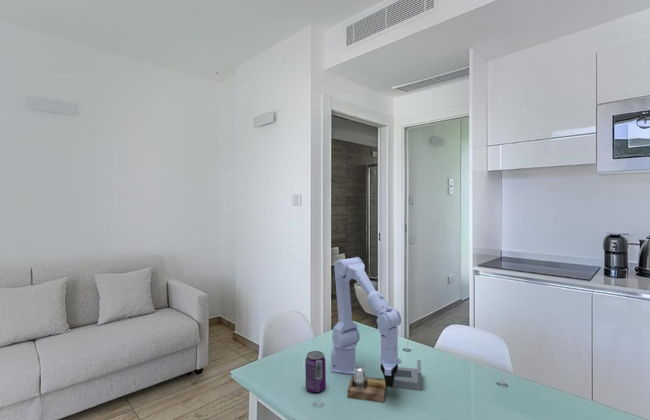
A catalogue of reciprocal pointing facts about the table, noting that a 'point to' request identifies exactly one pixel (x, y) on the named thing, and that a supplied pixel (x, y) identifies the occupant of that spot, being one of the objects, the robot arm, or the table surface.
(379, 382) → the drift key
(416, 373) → the grey square frame
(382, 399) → the socket block
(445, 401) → the table surface
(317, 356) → the beverage can
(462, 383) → the table surface
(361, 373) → the steel peg
